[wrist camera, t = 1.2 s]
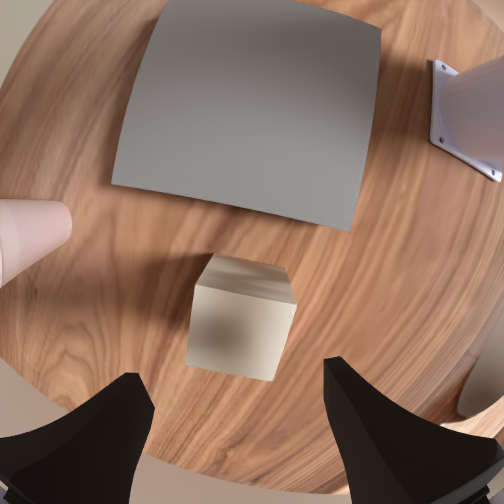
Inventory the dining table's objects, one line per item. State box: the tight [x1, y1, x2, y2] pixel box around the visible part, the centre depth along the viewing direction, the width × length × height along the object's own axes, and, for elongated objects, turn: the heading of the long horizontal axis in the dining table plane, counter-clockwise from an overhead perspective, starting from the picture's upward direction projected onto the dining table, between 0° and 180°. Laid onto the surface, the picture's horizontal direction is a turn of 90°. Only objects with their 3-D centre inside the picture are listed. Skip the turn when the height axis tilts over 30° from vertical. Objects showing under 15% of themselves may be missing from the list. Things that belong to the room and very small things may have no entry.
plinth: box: [111, 0, 381, 232], centre depth 14 cm, size 14×14×3 cm
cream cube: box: [185, 253, 297, 381], centre depth 16 cm, size 5×5×6 cm
